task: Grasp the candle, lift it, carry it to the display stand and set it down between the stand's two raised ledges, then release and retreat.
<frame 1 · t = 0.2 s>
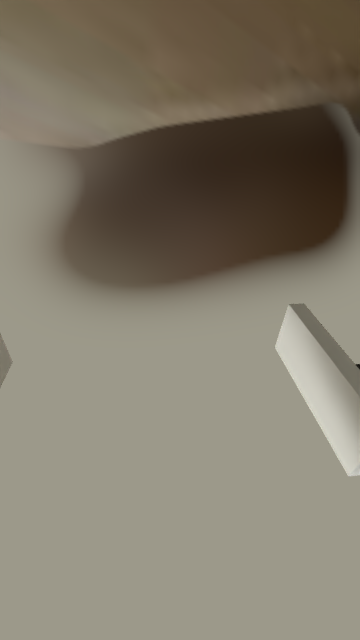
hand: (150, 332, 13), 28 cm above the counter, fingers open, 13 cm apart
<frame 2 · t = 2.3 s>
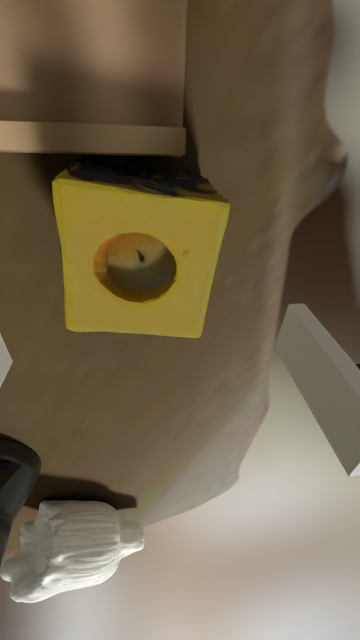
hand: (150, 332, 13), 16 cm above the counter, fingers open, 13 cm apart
mask: (88, 505, 58), on the counter
candle: (139, 224, 26), on the counter
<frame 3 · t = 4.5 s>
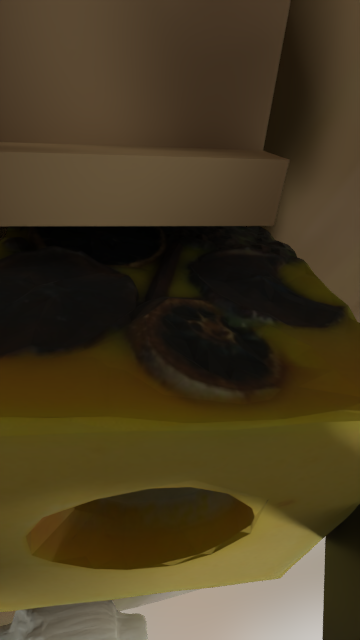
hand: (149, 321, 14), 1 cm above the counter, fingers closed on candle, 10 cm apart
mask: (78, 594, 47), on the counter
candle: (149, 308, 15), on the counter, touching gripper
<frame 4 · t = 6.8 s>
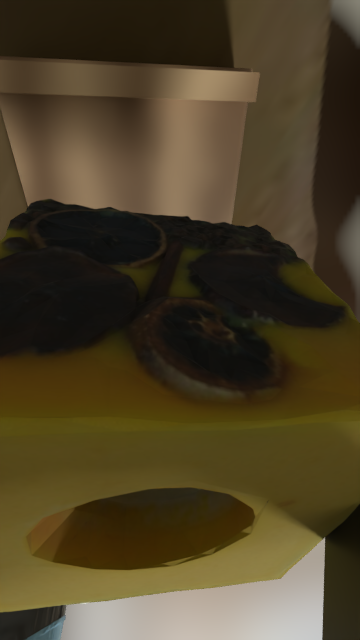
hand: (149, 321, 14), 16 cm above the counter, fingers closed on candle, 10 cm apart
candle: (149, 308, 15), point 15 cm above the counter, touching gripper
display stand: (136, 211, 27), on the counter
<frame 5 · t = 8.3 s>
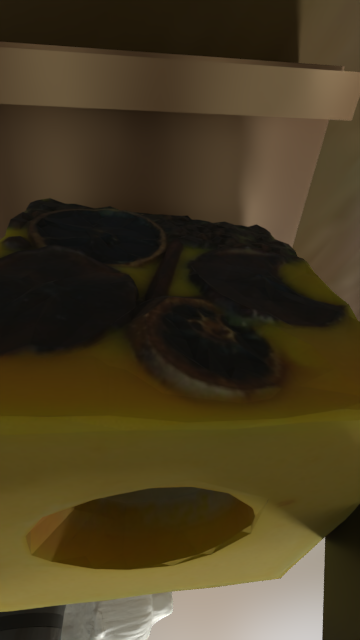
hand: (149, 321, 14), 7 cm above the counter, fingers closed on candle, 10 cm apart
mask: (119, 569, 62), on the counter
candle: (149, 307, 15), point 6 cm above the counter, touching gripper
display stand: (146, 260, 19), on the counter
when the fingers open (7 cm above the counter, at t = 9.2 s): candle drops 2 cm, resting on display stand.
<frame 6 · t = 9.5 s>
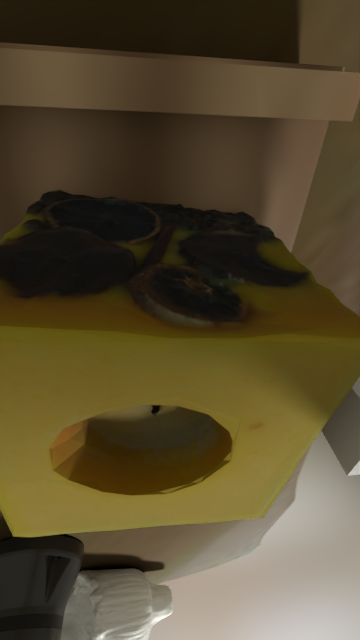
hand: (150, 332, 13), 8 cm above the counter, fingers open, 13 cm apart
mask: (119, 569, 62), on the counter
candle: (148, 290, 16), point 4 cm above the counter, touching display stand
display stand: (146, 260, 19), on the counter
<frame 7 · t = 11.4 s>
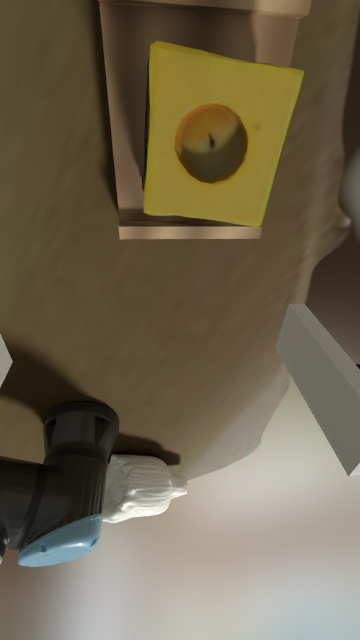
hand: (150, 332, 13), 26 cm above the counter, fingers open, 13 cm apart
mask: (143, 460, 75), on the counter
candle: (195, 136, 28), point 4 cm above the counter, touching display stand
display stand: (190, 131, 31), on the counter
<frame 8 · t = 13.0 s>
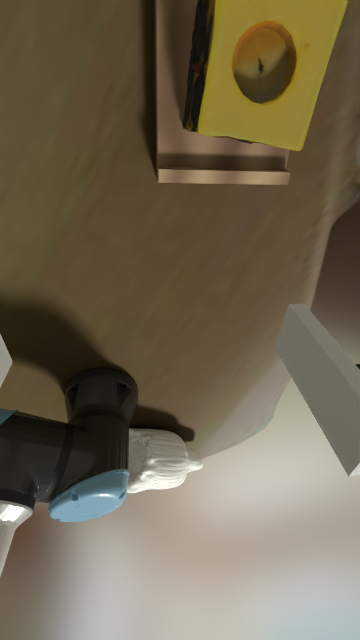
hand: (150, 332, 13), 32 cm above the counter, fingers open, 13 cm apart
mask: (158, 436, 76), on the counter
candle: (233, 80, 30), point 4 cm above the counter, touching display stand
display stand: (224, 82, 33), on the counter
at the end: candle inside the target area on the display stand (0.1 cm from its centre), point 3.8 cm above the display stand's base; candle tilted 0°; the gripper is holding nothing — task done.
